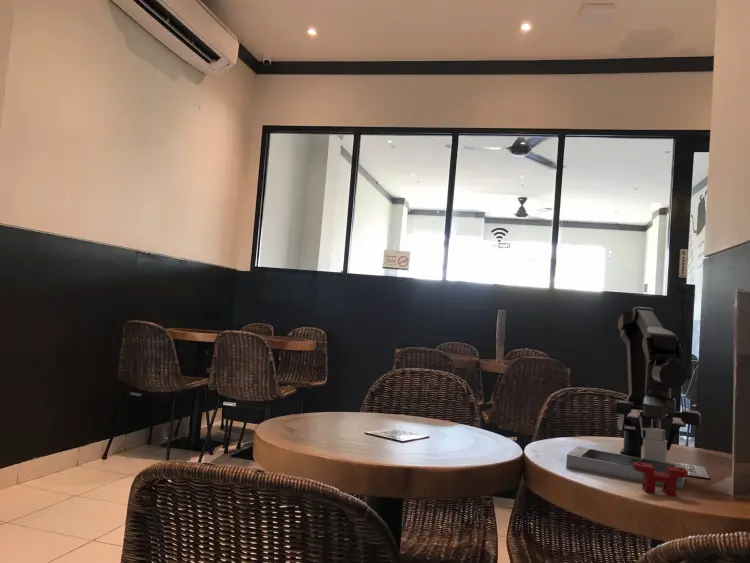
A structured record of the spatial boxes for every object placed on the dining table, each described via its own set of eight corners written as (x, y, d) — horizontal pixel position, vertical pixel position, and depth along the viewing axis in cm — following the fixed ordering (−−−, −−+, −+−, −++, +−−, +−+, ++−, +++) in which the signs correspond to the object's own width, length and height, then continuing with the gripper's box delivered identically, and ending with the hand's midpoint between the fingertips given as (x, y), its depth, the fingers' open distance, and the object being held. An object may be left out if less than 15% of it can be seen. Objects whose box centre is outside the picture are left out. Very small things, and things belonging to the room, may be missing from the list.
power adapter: (639, 466, 143) (642, 417, 143) (662, 468, 142) (665, 419, 142) (643, 469, 140) (646, 419, 140) (667, 472, 139) (670, 421, 139)
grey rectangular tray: (576, 458, 145) (577, 446, 145) (684, 479, 133) (685, 466, 133) (566, 467, 135) (566, 454, 135) (682, 491, 123) (683, 476, 123)
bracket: (689, 472, 116) (636, 465, 118) (687, 500, 116) (634, 493, 118) (684, 468, 119) (632, 461, 121) (682, 495, 119) (630, 488, 121)
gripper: (612, 380, 140) (608, 445, 139) (701, 391, 130) (697, 462, 129) (619, 378, 149) (615, 439, 148) (702, 388, 140) (698, 453, 139)
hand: (654, 448), depth 141 cm, fingers closed on power adapter, 6 cm apart
